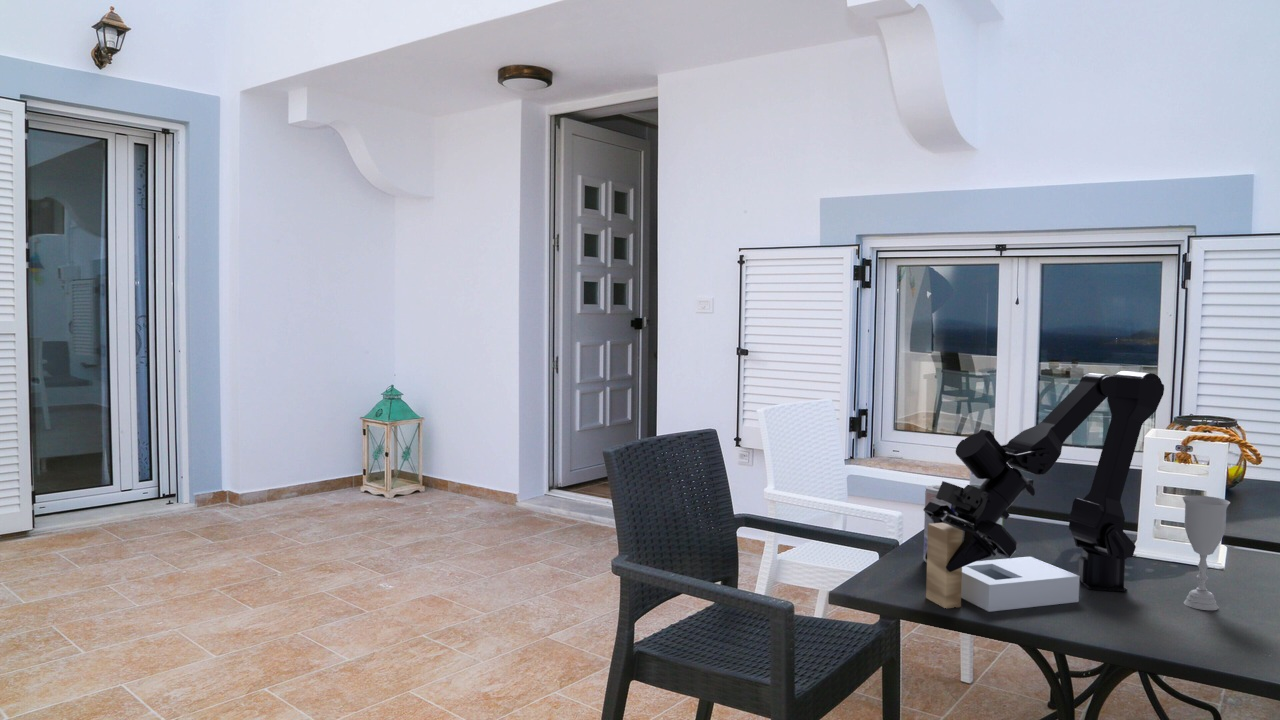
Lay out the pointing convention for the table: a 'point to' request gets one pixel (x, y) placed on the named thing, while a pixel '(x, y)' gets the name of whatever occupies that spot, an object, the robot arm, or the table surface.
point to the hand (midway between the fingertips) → (937, 564)
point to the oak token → (943, 565)
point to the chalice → (1204, 541)
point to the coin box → (1017, 584)
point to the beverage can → (929, 497)
